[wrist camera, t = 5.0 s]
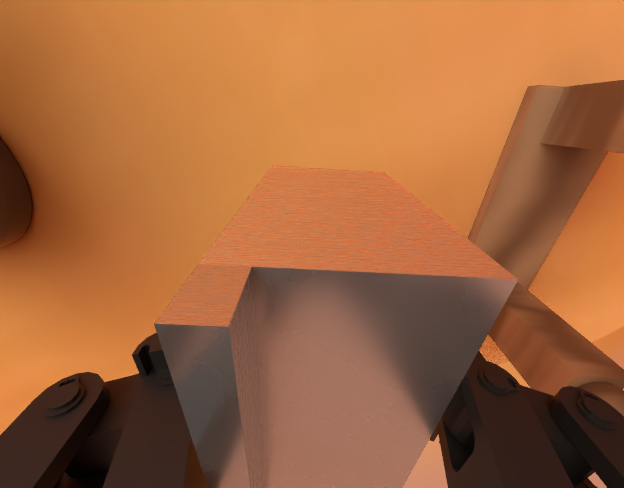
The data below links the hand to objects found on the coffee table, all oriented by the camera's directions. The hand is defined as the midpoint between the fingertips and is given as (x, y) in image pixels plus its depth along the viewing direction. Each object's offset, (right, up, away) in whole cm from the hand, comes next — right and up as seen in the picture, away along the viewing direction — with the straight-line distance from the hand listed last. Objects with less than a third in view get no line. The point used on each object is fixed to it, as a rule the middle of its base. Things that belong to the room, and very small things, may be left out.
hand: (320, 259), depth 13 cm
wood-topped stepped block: (0, 0, 0) cm, 0 cm away
